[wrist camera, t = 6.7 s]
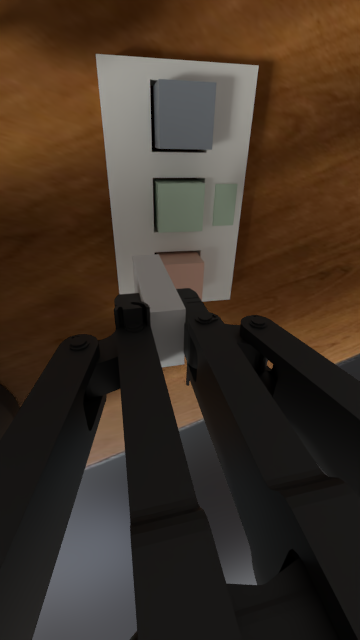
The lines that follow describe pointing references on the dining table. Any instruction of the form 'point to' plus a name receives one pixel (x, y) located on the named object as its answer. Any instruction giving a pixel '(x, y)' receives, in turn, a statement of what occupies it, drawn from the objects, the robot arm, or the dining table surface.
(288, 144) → the dining table surface
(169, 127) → the slate grey button
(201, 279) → the salmon pink button
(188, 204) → the sage button
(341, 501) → the robot arm
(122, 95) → the button board
